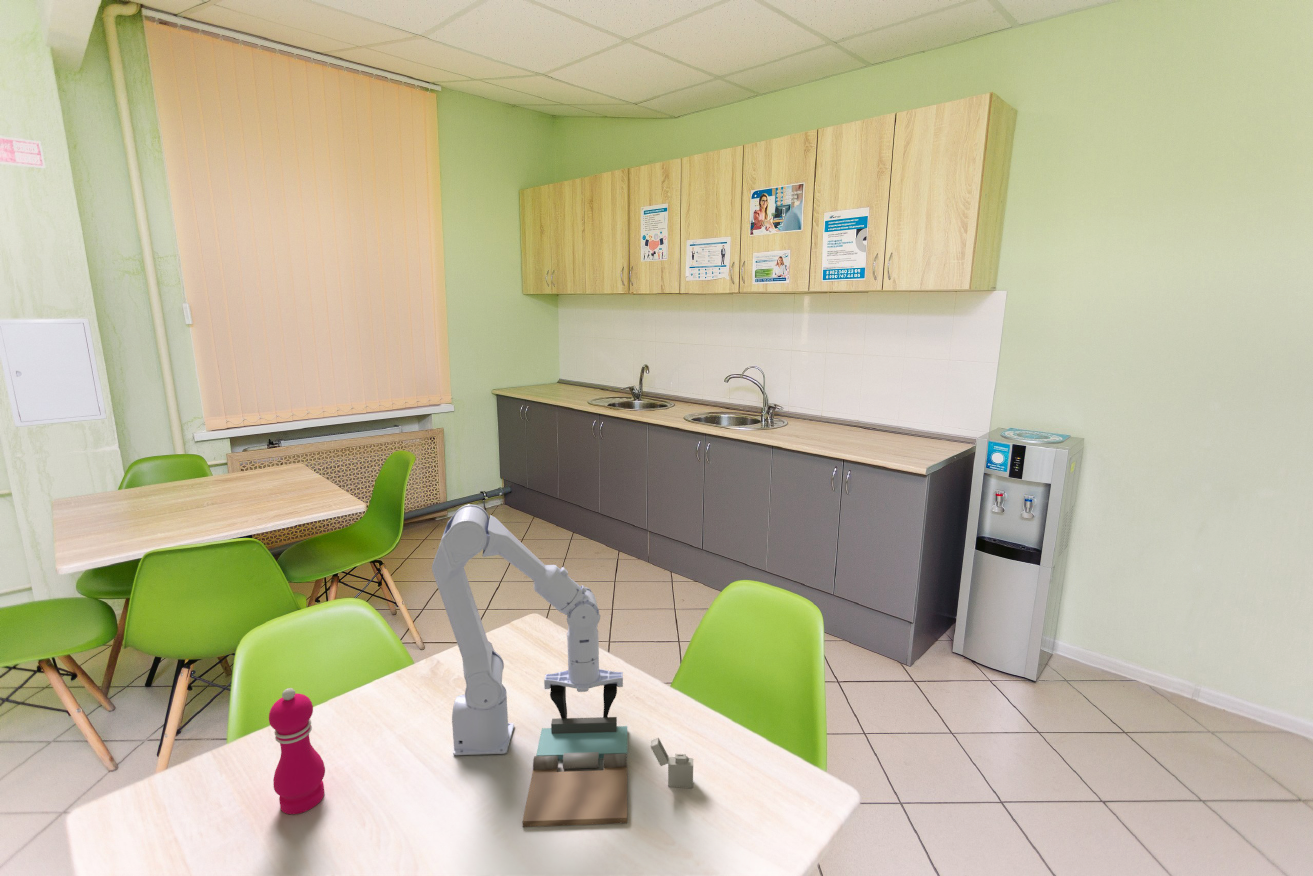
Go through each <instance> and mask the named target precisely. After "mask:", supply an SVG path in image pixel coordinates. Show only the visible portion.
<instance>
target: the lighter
mask: <svg viewBox="0 0 1313 876" xmlns="http://www.w3.org/2000/svg"><path fill="white" fill-rule="evenodd" d="M650 749H651V751H652V753H653V754H654V756H655V758H656V760H657V762H658V764H659V765H660V767H663V766H666V765H667V766H668V767H667V770H668V771H667V778H668V780H667V784H668V785H667V786H668V788H669V787H670V788H680V789H681V788H682V789H683V788H684V789H685V788H686V789H692V788H694V758H693V757H689V756H688V755H687V754H686V753H675V755H674V756H669V755H668V752H667V750H666V748H665V747H664V745H663V743H662V741H661V740H660V738H659V737H655V738H653V739H651V740H650Z"/></svg>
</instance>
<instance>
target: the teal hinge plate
mask: <svg viewBox="0 0 1313 876" xmlns="http://www.w3.org/2000/svg"><path fill="white" fill-rule="evenodd" d="M617 718H618V717H617V716H609V717H602V716H601V717H600V716H599V717H597V716H596V717H570V718H568V717H567V718H561V717H560V718H552V719H551V723H550V724H551V725H550V727H547V728H546V727H544V728H543V727H542V728H541V731H540V736H539V741H538V745H537V750H536V755H535V756H558V761H559V760H561V761H562V769H564V770H565V769H571V770H572V769H594V768H595V769H597V768H599V765H600V764H599V763H600V760H601V759H604V754H623V753H627V754H628V725H620V726H619V725H617V723H618V722H617V720H618V719H617Z"/></svg>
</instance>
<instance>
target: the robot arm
mask: <svg viewBox="0 0 1313 876" xmlns="http://www.w3.org/2000/svg"><path fill="white" fill-rule="evenodd" d="M481 552H482V555H481V556H482V557H483V558H484V557H485V558H488V557H494V556H500V557H502V558H503V559H504V560H506V561H507V562H508V563H510V564H511V565H512V566H513V567H515V568H516V569H517V570H519V571H520V572H522V573H523V574H524V575H526V577H528V578H529V579H531V580H532V581H533V590H534V592H536V593H537V594H538V595H539V596H540V597H541V598H542V599H544V600H545V601H546V602H547V603H549V604H550V605H551V607H553V608H555V610H557V612H559V613H561V614H564V615H565V616H566V622H567V626H568V627H567V633H566V636H567V637H566V639H567V641H566V643H567V644H566V645H567V667H568V668H567V669H568V670H563V671H558V672H555V673H545V675H544V679H543V683H544V687H543V689H544V690H550V692H549V693H550V694H549V696H550V699H551V701H552V702H553V704H554V705H555V706H556V708H557V710H558V713H559V715H560V718H568V708H567V707H568V706H567V695H566V693H567V691H566V690H567V688H572V689H575V690H576V691H577V693H587V692H589V690H590V689H592V688H596V687H600V686H603V691H602V692H603V693H602V694H603V695H602V696H603V697H602V698H603V714H602V716H603V717H608V716H609V713H610V709H611V707H612V704H613V703H614V700H615V698H616V696H617V694H618V688H623V687H624V675H623V674H624V672H623V671H612V670H607V669H603V668H600V656H599V655H600V650H599V649H600V647H599V646H600V645H599V644H600V643H599V639H600V638H599V630H598V626H599V625H598V624H599V623H600V620H601V614H600V610H599V606H598V602H597V598H596V596H595V594H594V593H593V591H592V590H591V588H589V587H586V586H585V585H584V584H582V585H579V584H578V582H576V581H575V580H574V579H572V578H571V577H570V576H569V571H568V570H567V568H565V567H564V566H562V567H561V568H560V567H558V565H556V564H545V563H544V562H543V561H542V560H540V559H539V557H537V556H536V555H535V554H534V553H533V552H532V551H531V550H530V549H529V548H527V546H525V544H523V542H521V541H520V540H519V539H518V538H517V537H516V536H515V535H514V534H513V533H512V532H511V531H510V529H508V528H507V527H506V526H504V525H503V523H502V522H501V521H500V520H498V518H497V517H495V516H494V515H491V514H490V515H489V513H488V512H487V511H486V510H485V509H484V508H483V507H481V506H479V505H478V504H465V505H463V506H461V507H459V508H458V509H457V510H456V511H455V512H454V513H453V515H452V516H451V517H450V519H449V520H448V521H447V523H446V525H445V527H444V532H443V534H442V537H441V539H440V542H439V546H438V548H437V551H436V553H435V556H434V559H433V562H432V565H431V571H432V574H433V577H434V580H435V583H436V586H437V589H438V591H439V595H440V598H441V600H442V603H443V606H444V608H445V612H446V615H447V617H448V621H449V624H450V626H451V629H452V630H451V631H452V632H453V635H454V638H455V640H456V644H457V647H458V650H459V652H460V656H461V658H462V668H463V669H462V671H463V678H464V680H465V686H466V687H465V690H464V694H461V695H457V696H456V697H455V700H454V701H453V702H454V703H453V707H452V713H451V724H452V738H453V739H452V740H453V752H452V754H453V756H468V755H470V756H471V755H472V756H473V755H500V754H501V755H505V754H507V753H508V750H509V746H510V741H511V739H512V736H513V731H514V727H515V723H514V722H509V716H508V715H509V714H508V696H507V694H508V693H507V689H506V687H505V686H504V684H503V673H504V666H505V663H504V659H503V657H502V656H501V655H500V654H499V653H497V652H496V651H495V648H494V646H493V643H492V642H491V641H489V640H488V637H487V634H486V631H485V627H484V624H483V622H482V617H481V615H480V612H479V608H478V607H477V604H476V600H475V597H474V594H473V591H472V588H471V586H470V583H469V582H470V581H469V579H468V576H467V573H466V571H465V567H466V565H467V563H469V561H470V560H471V559H472V558H473V559H474V557H476V556H477V555H478V554H480V553H481Z"/></svg>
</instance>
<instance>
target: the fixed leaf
mask: <svg viewBox="0 0 1313 876" xmlns="http://www.w3.org/2000/svg"><path fill="white" fill-rule="evenodd" d="M532 761H533V762H532V774H531V778H530V783H529V788H528V793H527V798H526V802H525V808H524V812H523V817H522V820H521V821H522V828H526V827H529V828H530V827H531V828H532V827H553V826H554V827H556V826H559V827H560V826H561V827H562V826H582V825H583V826H584V825H585V826H586V825H613V824H615V825H616V824H627V823H628V752H627V753H623V754H604V758H603V770H581V771H579V770H578V771H577V770H575V771H558V770H559V769H558V768H559V760H558V756H536V755H534V756H533V760H532Z"/></svg>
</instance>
